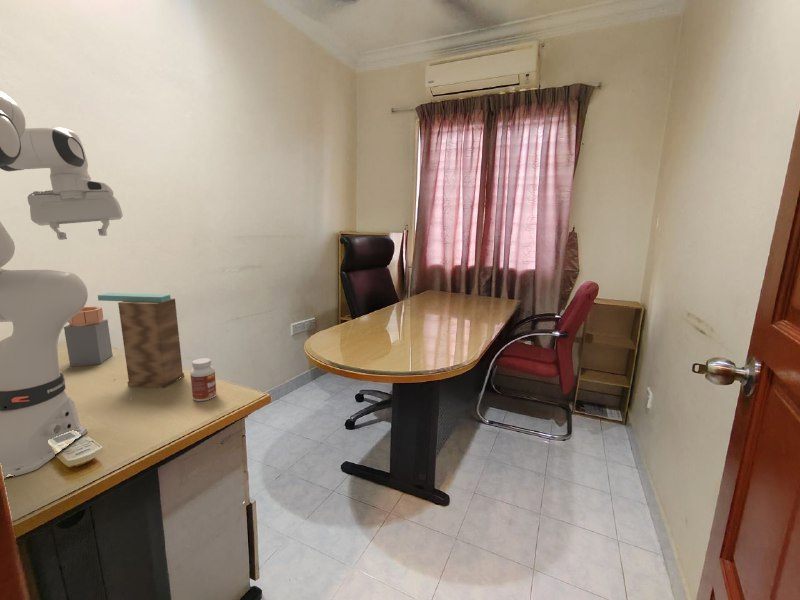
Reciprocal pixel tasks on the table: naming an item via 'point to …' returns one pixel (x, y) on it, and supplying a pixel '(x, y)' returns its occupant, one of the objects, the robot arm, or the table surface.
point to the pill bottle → (203, 380)
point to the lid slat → (133, 297)
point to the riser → (88, 344)
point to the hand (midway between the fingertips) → (83, 237)
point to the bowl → (87, 317)
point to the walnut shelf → (151, 343)
